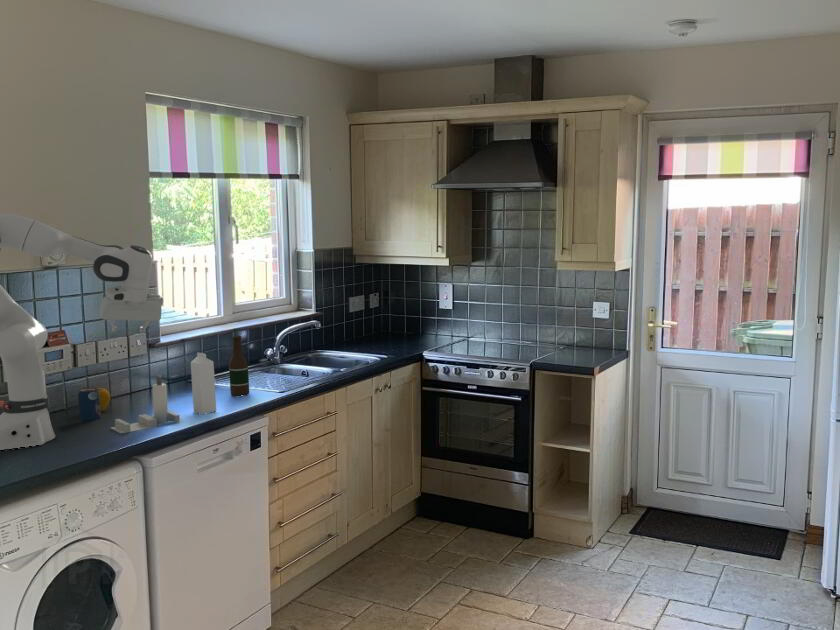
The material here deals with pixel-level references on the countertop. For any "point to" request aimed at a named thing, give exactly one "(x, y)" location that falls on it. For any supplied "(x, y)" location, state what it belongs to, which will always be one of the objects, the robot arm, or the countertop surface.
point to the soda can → (89, 404)
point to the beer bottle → (238, 370)
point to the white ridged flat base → (145, 423)
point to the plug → (160, 401)
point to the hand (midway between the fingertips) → (128, 331)
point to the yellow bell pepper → (103, 398)
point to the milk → (203, 384)
